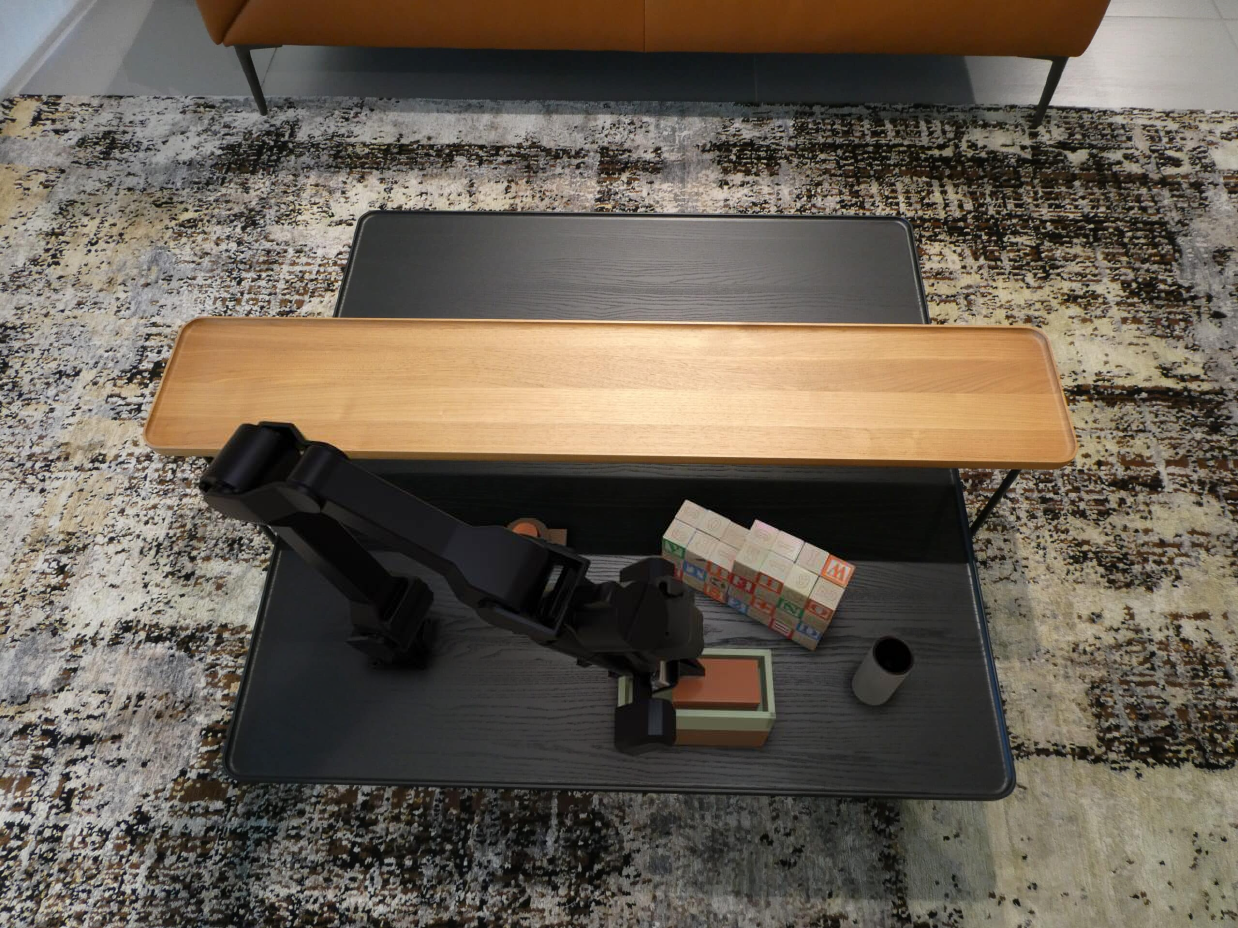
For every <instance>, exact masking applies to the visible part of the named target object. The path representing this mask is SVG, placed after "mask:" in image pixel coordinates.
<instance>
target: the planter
mask: <svg viewBox="0 0 1238 928" xmlns="http://www.w3.org/2000/svg"><path fill="white" fill-rule="evenodd" d="M915 663H916V656H915V651H914V649H913V647H912V646H911V645H910V644H909V643H908V641H906V639H904V638H902V637H899V636H898V635H897V636H896V635H892V634H891V635H884V636H881V637H879V638H878V639H877V640H876V641H874V643H873V645H872V647H871V648H870V649H869V651H868V653H867V654H866V656H865V657H864V659H863V660H862V662H861V663H860V665H859V666H858V669H857V670H856V671H855V673H854V675H853V677H852V679H851V687H852V688H851V689H852V691H853V693H854V695H855V697H856V698H857V699H858V700H859V701H860V702H861V703H864V704H866V705H868V706H876V707H877V706H880V705H883V704H885V703H886V702H887V701H888V700H889V699H890V697H891V696H892V695H893V694H894V693H895V692H896V690H897V689H898V688H899V686H900V685H901V684H902V683H903V681H904V680H905V679H906V677H907V676H908V675H909V673H910V672H911V671H912V670H913V668H914V666H915Z"/></svg>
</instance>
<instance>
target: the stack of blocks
mask: <svg viewBox="0 0 1238 928" xmlns="http://www.w3.org/2000/svg"><path fill="white" fill-rule="evenodd" d="M661 542H662V543H661V549H662V550H661V556H662V557H664V558H666V559H668V560H670V561H672V562H673V563H674V564H675V578H677V579H680V580H682V581H683V582H684V583H685V584H686V585H687V586H689V587H692V589H694V590H697V591H699V592H702V593H703V594H705V595H706V596H709V597H710V598H712V599H714V600H715V601H718V602H720V603H721V604H725V605H727V606H728V607H730V608H732V609H734V610H736V611H738V612H740V613H742V614H744V615H746V616H748V617H750V618H751V619H753V620H755V621H757V622H759V623H761V624H763V625H765V626H767V627H768V628H769V629H771V630H773V631H775V632H777V633H778V634H780V635H781V636H784V637H786V638H788V639H789V640H792V641H793V642H795V643H797V644H798V645H800V646H802V647H804V648H806V649H808V650H810V651H812V652H814V651H815V649H816V648H817V646H818V644H819V642H820V640H821V638H822V636H823V635H824V633H825V632H826V630H827V628H828V627H829V626H830V625H829V624H830V622H831V621H832V618H833V616H834V614H835V612H836V610H837V608H838V606H839V603H840V601H841V599H842V597H843V595H844V593H845V591H846V589H847V586H848V584H849V582H850V580H851V578H852V575H853V574H854V571H855V569H856V566H855V565H853V564H851V563H849V562H847V561H845V560H843V559H841V558H839V557H836V556H834V555H832V554H830V553H829V552H828V551H826V550H824V549H821V548H819V547H817V546H815V545H813V544H811V543H808V542H805V541H804V540H802V539H801V538H799V537H796V536H794V535H791V534H789V533H787V532H785V531H783V530H779V529H778V528H776V527H774V526H772V525H769V524H767V523H765V522H763V521H761V520H758V519H755V520H754V522H753V524H752V526H751V527H750V529H748V528H746V527H744V526H742V525H740V524H738V523H735V522H734V521H731V520H730V519H729V518H727V517H725V516H722V515H721V514H718V513H716V512H714V511H712V510H710V509H706V508H705V507H702V506H701V505H699V504H696V503H695V502H692V501H690V500H688V499H685V500H684V502H683V504H682V505H681V506H680V509H679V510H678V512H677V513H676V515H675V517H674V519H673V520H672V522H671V523H670V525H668V527H667V530H666V531H665V533H664V534H663V536H662V539H661Z"/></svg>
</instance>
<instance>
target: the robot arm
mask: <svg viewBox="0 0 1238 928" xmlns="http://www.w3.org/2000/svg"><path fill="white" fill-rule="evenodd" d="M197 487H198V490H199V491H200V493H201V494H202V495H203V496H202V499H203V500H204V502H205V503H206V504H207V506H209V507H210V508H211V509H212V510H214V511H215V512H217V513H219V514H220V515H222V516H225V517H227V518H230V519H234V520H236V521H241V522H246V523H251V524H257V525H262V526H267V527H269V528H271V529H272V531H274V533H276V535H278V536H279V537H280V538H281V539H282V540H284V542H286V544H287V545H289V546H290V548H292V549H293V550H294V551H295V552H296V553H298V555H300V556H301V557H302V558H303V559H304V560H305V561H306V562H307V563H308V564H309V565H311V566H312V567H313V568H314V569H315V570H316V571H317V572H318V573H319V574H320V575H321V576H323V577H324V579H326V580H327V582H329V583H330V584H331V585H332V586H333V587H334V588H335V589H336V590H338V591H339V592H340V593H341V594H342V595H343V596H344V597H345V598H346V599H347V600H348V605H349V614H350V621H351V625H352V626H353V629H352V630H351V632H350V634H349V636H348V637H347V639H346V643H347V644H348V645H349V646H351V647H352V648H353V649H354V650H355V651H359V652H361V653H364V654H366V655H369V656H372V657H371V665H370V666H371V667H372V668H373V669H375V670H409V671H410V670H413V671H417V670H418V671H422V670H425V669H426V668H427V662H428V656H429V654H430V653H431V652H432V648H433V647H432V646H433V641H434V635H435V633H434V630H433V625H434V621H433V619H432V618H431V617H427V615H428V613H429V611H430V609H431V607H432V606H433V604H434V601H435V596H434V595H435V592H434V591H433V590H431V589H430V586H429V584H427V583H426V582H425V581H423V580H422V579H421V577H420V576H419V575H411V574H407V573H401V572H398V571H397V572H396V571H391V570H387V569H386V568H385V567H384V566H383V565H382V564H381V563H380V562H379V560H377V559H376V558H375V556H374V555H372V554H371V553H370V551H369V550H368V549H367V548H366V547H365V546H364V545H363V544H362V543H361V542H360V541H359V540H358V538H356V537H355V536H354V535H353V534H352V532H351V531H349V530H348V529H347V527H350V528H352V529H353V530H355V531H357V532H359V533H361V534H363V535H365V536H367V537H368V538H371V539H372V540H375V541H377V542H378V543H380V544H382V545H384V546H386V547H388V548H391V549H392V550H393V551H396V552H398V553H400V554H401V555H404V556H405V557H407V558H409V559H411V560H412V561H415V562H417V563H419V564H420V565H422V566H424V567H427V568H428V569H429V570H431V571H434V572H435V573H437V574H439V575H440V576H442V577H444V580H445V581H446V582H447V584H448V586H449V587H450V589H451V591H452V592H453V594H454V596H455V597H456V599H457V600H458V601H459V602H461V603H462V604H464V605H466V606H467V607H469V608H470V609H472V610H474V611H475V614H476V615H477V616H478V618H480V619H481V620H482V621H484V622H486V623H487V624H489V625H491V626H493V627H496V628H498V629H501V630H505V631H509V632H512V634H513V635H516V636H527V637H528V638H529V639H530V640H531V641H532V642H534V643H535V644H536V645H538V646H541V647H544V648H545V649H548V650H552V651H555V652H557V653H560V654H562V655H566V656H568V657H571V658H574V659H576V663H575V665H576V666H578V667H580V668H583V669H586V668H589V667H591V666H596V667H598V668H602V669H604V670H607V671H608V673H607V674H608V675H607V677H609V678H611V679H614V680H619V678H621V677H624V676H626V677H629V694H628V704H625V705H622V706H619V707H618V706H616V707H615V709H614V731H613V732H614V736H613V737H614V738H613V746H614V749H616V750H617V751H618V752H619V753H620V754H623V755H626V756H629V757H636V756H640V755H644V754H648V753H653V752H656V751H660V750H665V749H668V748H669V749H670V748H672V747H674V745H675V744H674V743H675V741H676V710H675V708H674V706H673V705H672V703H671V701H669V700H667V699H664V698H652V695H653V694H657V693H660V692H663V691H667V690H670V689H673V688H675V687H676V686H677V685H678V683H679V681H682V680H690V679H698V678H702V677H705V668H704V667H703V665H702V664H701V663H700V662H699V661H698V660H697V659H696V658H697V657H699V656H700V655H701V654H702V652H703V650H704V648H705V641H704V613H703V612H702V610H700V609H699V607H697V605H696V594H695V593H696V592H695V589H694V588H689V585H688V584H686V583H684V582H683V581H682V580H680V579H678V578H676V577H675V564H674V563H673V562H672V561H670V560H668V559H666V558H664V557H662V555H656V554H655V555H649V556H647V557H645V558H642V559H640V560H638V561H636V562H634V563H631V564H629V565H627V566H625V567H623V568H622V569H620V570H619V579H618V581H619V582H617V581H616V580H608V581H603V582H601V583H595V582H593V581H592V580H590V579H589V578H588V577H586V576H587V573H588V571H589V569H590V567H591V564H592V561H591V560H590V559H588V558H586V557H584V556H582V555H579V554H576V552H575V548H574V547H573V548H572V547H570V546H568V545H566V546H564V545H561V544H557V543H554V542H551V541H548V540H545V539H542V538H538V537H535V536H532V535H527V534H522V533H516V532H514V531H511V530H509V529H507V527H504V526H502V525H481V526H473V525H470V524H468V523H466V522H464V521H461V520H459V519H458V518H456V517H454V516H452V515H451V514H448V513H447V512H444V511H443V510H441V509H438V508H437V507H435V506H433V505H431V504H430V503H428V502H426V501H424V500H423V499H420V498H419V497H416V496H415V495H413V494H411V493H409V492H407V491H405V490H403V489H401V488H400V487H398V486H396V485H394V484H392V483H391V482H389V481H387V480H385V479H383V478H381V477H380V476H377V475H376V474H374V473H372V472H370V471H368V470H366V469H364V468H363V467H360V466H358V465H357V464H355V463H353V462H352V460H351V459H350V457H349V456H348V454H346V453H345V452H344V451H343V450H341V449H340V448H338V447H337V446H335V445H333V444H331V443H328V442H325V441H320V440H311V439H310V440H309V438H307V436H306V435H305V434H304V432H302V431H301V430H300V429H299V428H298V427H297V425H295V423H293V422H284V421H271V420H269V421H268V420H262V421H258V423H257V424H254V423H248V422H245V423H241V424H240V425H238V427H237V428H236V430H235V431H234V432H233V433H232V434H231V436H230V438H229V439H228V440H227V441H226V443H225V444H224V445H223V447H222V448H221V449H220V451H219V452H218V453H217V454H216V456H215V457H214V458H213V460H212V461H211V463H210V464H209V465H208V466H207V467H206V469H205V470H204V471H203V473H202V474H201V475H200V477H199V483H198V485H197ZM345 526H347V527H345ZM554 564H555V565H554ZM555 566H559V567H562V569H561V571H560V573H559V575H558V578H557V580H556V581H555V584H554V585H553V586H552V585H550V586H548V583H549V581H550V579H551V577H552V575H553V572H554V570H555V568H556V567H555ZM375 664H376V665H375ZM421 665H422V666H421Z"/></svg>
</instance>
